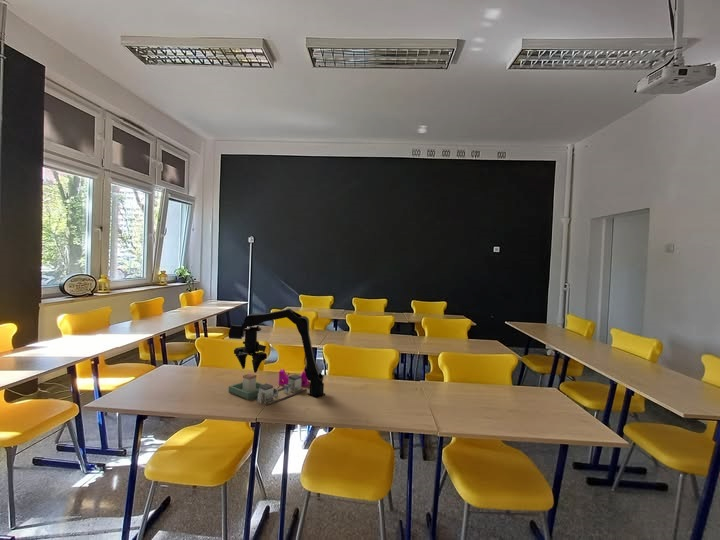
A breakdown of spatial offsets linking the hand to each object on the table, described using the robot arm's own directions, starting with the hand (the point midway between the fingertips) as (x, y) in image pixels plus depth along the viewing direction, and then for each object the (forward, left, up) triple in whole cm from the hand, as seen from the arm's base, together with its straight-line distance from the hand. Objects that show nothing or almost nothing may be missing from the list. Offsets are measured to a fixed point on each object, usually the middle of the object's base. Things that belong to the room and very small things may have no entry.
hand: (249, 370), depth 179 cm
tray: (0, 0, -11) cm, 11 cm away
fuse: (0, 0, -10) cm, 10 cm away
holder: (-14, -8, -11) cm, 20 cm away
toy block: (-7, -24, -11) cm, 27 cm away
